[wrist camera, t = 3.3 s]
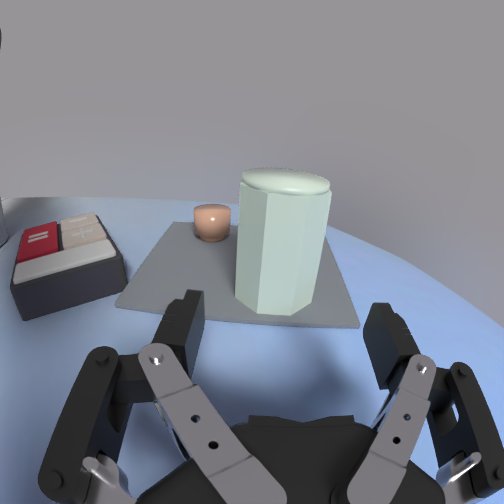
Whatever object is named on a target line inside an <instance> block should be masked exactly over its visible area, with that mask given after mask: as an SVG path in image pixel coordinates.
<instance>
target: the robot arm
mask: <svg viewBox="0 0 504 504" xmlns="http://www.w3.org/2000/svg"><path fill="white" fill-rule="evenodd" d="M0 46H1V30H0ZM7 239H8V232H7V228H6V224H5V219H4V214H3V209H2V204H1V198H0V246H1V245H3V244H4V243H5V242H6V240H7ZM204 324H205V306H204V291H201V290H192V289H187V291H186V293H185V296H184V298H183V299H174V300H173V301H172V302H171V303H170V304H169V305H168V306H167V309H166V311H165V314H164V315H163V318H162V321H161V322H160V324H159V327H158V329H157V331H156V334H155V336H154V338H153V341H152V343H151V344H149V345H147V346H145V347H144V348H142V349H141V351H140V352H139V353H138V354H132V355H118V353H117V351H116V350H115V349H113V348H111V347H107V346H102V347H97V348H95V349H93V350H92V351H91V352H90V353H89V354H88V356H87V358H86V360H85V362H84V364H83V366H82V368H81V370H80V372H79V374H78V376H77V378H76V381H75V383H74V385H73V387H72V389H71V392H70V394H69V396H68V398H67V401H66V403H65V405H64V408H63V410H62V412H61V415H60V417H59V420H58V422H57V424H56V427H55V430H54V432H53V435H52V437H51V440H50V443H49V445H48V448H47V451H46V454H45V456H44V459H43V462H42V465H41V468H40V471H39V475H38V484H39V487H40V489H41V491H42V492H43V493H44V494H45V495H46V496H47V497H48V498H50V499H51V500H53V501H55V502H57V503H58V504H476V503H478V502H480V501H482V500H483V499H485V498H487V497H489V496H491V495H492V494H494V493H496V492H497V491H499V490H501V489H502V488H504V448H503V445H502V442H501V439H500V436H499V433H498V431H497V428H496V425H495V422H494V420H493V417H492V415H491V412H490V409H489V407H488V405H487V402H486V400H485V397H484V395H483V393H482V391H481V388H480V386H479V384H478V382H477V379H476V377H475V375H474V373H473V371H472V369H471V368H470V367H469V366H468V365H466V364H465V363H462V362H455V363H454V364H453V365H452V366H451V367H450V369H444V368H439V367H436V365H435V363H434V361H433V360H432V359H431V358H429V357H428V356H425V355H422V354H421V353H420V351H419V349H418V347H417V345H416V343H415V341H414V339H413V337H412V335H411V333H410V331H409V329H408V327H407V325H406V323H405V321H404V319H402V318H401V317H400V316H399V315H398V314H397V313H394V312H393V310H392V308H391V306H390V304H389V303H373V304H372V306H371V309H370V312H369V314H368V317H367V320H366V322H365V325H364V328H363V339H364V342H365V345H366V348H367V351H368V354H369V357H370V360H371V363H372V366H373V369H374V373H375V376H376V379H377V382H378V386H379V389H380V390H383V389H389V394H388V395H387V397H386V399H385V401H384V403H383V405H382V407H381V409H380V411H379V413H378V414H377V416H376V418H375V420H374V422H373V423H372V425H371V427H368V426H366V425H363V424H360V423H356V422H354V417H353V415H349V416H330V417H326V418H322V419H318V420H314V421H310V422H306V423H301V422H297V421H292V420H288V419H284V418H279V417H272V416H253V415H249V421H248V422H246V423H241V424H237V425H234V426H231V427H228V426H227V424H226V423H225V422H224V420H223V419H222V418H221V416H220V415H219V413H218V412H217V411H216V409H215V408H214V406H213V405H212V404H211V402H210V401H209V399H208V398H207V396H206V395H205V394H204V392H203V391H202V389H201V388H200V387H199V386H198V385H197V384H195V385H194V384H193V383H192V382H191V377H192V373H193V369H194V365H195V361H196V357H197V353H198V349H199V345H200V341H201V338H202V334H203V330H204ZM143 402H153V403H154V405H155V407H156V409H157V411H158V413H159V414H160V416H161V418H162V420H163V422H164V424H165V426H166V427H167V429H168V431H169V433H170V435H171V437H172V439H173V441H174V443H175V445H176V447H177V448H178V450H179V452H180V453H181V455H182V457H183V458H184V460H185V462H184V463H182V464H181V465H180V466H179V467H177V468H176V469H175V470H173V471H172V472H171V473H169V474H168V475H167V476H165V477H164V478H163V479H161V480H160V481H159V482H157V483H156V484H154V485H153V486H152V487H150V488H149V489H147V490H146V491H145V492H143V493H142V494H141V495H140V496H139V498H138V499H135V498H133V497H132V496H131V495H130V493H129V490H128V478H127V476H126V474H125V473H124V471H123V470H122V469H121V468H120V467H119V466H118V465H117V461H118V457H119V453H120V449H121V445H122V441H123V438H124V434H125V430H126V426H127V423H128V419H129V416H130V412H131V408H132V405H133V403H143ZM454 403H455V406H456V408H457V411H458V414H459V419H458V422H457V420H456V417H455V414H454V411H453V408H452V406H453V404H454ZM425 418H427V421H428V425H429V429H430V432H431V436H432V440H433V444H434V448H435V453H436V457H437V462H438V466H439V470H438V472H437V474H436V480H434V479H433V478H431V477H430V476H429V475H428V474H427V473H425V472H424V471H423V470H422V469H420V468H419V467H418V466H417V465H415V464H414V463H413V462H412V461H411V460H409V458H410V456H411V454H412V452H413V449H414V447H415V444H416V442H417V440H418V437H419V435H420V432H421V429H422V427H423V424H424V421H425Z"/></svg>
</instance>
